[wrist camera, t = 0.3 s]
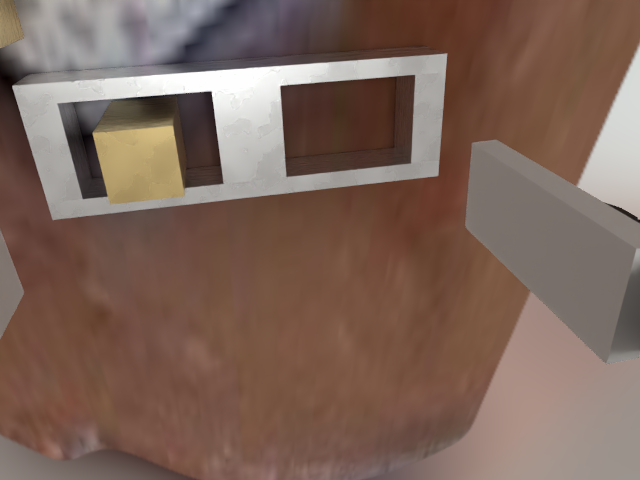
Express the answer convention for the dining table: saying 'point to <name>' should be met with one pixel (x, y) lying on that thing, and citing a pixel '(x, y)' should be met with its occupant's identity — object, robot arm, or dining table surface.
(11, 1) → the yellow rectangular block
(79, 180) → the rail
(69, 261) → the dining table surface
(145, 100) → the tan wooden brick
